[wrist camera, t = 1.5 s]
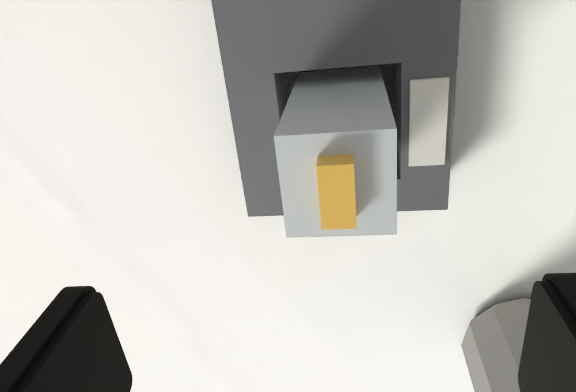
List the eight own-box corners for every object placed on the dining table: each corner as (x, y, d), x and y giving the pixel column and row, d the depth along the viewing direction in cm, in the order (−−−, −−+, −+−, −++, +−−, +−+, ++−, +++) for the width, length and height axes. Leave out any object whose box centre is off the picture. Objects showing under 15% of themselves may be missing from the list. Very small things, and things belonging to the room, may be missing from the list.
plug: (379, 66, 22) (399, 137, 14) (380, 142, 24) (398, 247, 16) (298, 72, 23) (270, 145, 14) (305, 146, 25) (284, 250, 16)
